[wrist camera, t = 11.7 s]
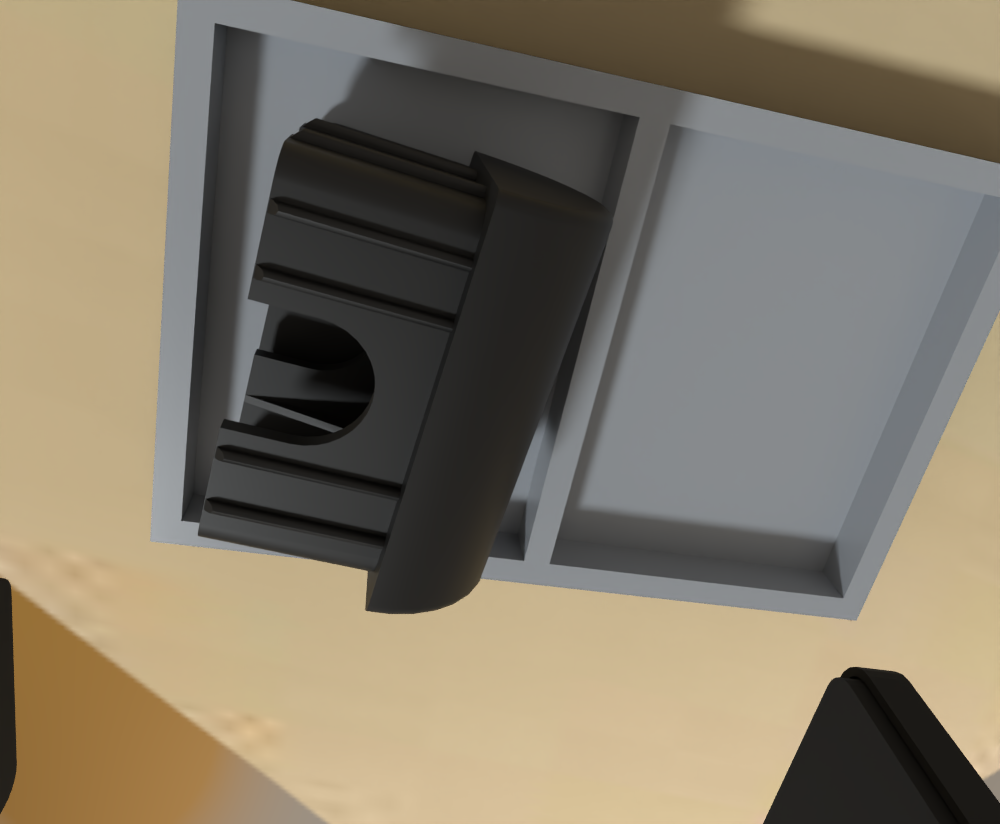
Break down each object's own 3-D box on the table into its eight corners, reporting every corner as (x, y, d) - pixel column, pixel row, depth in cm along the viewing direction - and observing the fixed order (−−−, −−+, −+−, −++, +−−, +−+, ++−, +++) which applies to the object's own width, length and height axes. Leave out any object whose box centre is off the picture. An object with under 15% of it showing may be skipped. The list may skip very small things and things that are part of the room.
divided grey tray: (1010, 166, 24) (1061, 177, 22) (828, 584, 29) (856, 620, 27) (199, -20, 20) (179, -26, 18) (168, 505, 25) (150, 541, 23)
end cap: (470, 496, 26) (491, 640, 20) (239, 443, 24) (183, 581, 18) (581, 182, 22) (649, 238, 16) (318, 95, 21) (281, 121, 14)
